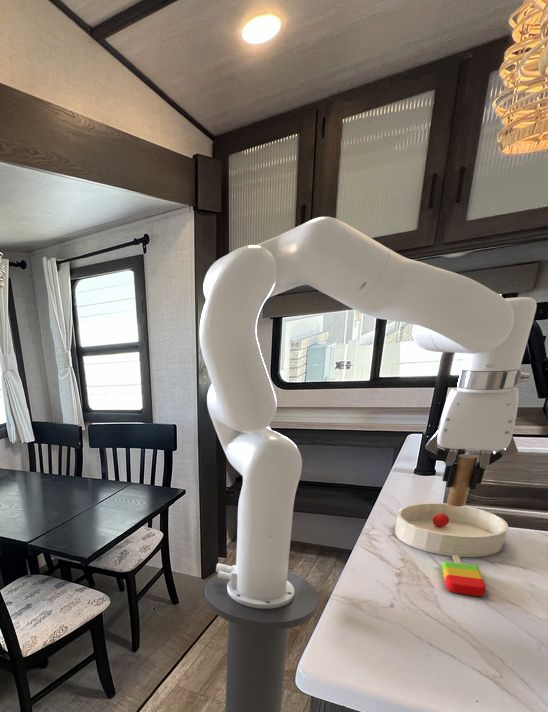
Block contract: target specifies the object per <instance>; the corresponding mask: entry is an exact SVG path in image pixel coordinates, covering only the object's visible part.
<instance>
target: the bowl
mask: <svg viewBox="0 0 548 712" xmlns="http://www.w3.org/2000/svg"><path fill="white" fill-rule="evenodd" d="M437 514H445V515H447V516H448V518H449V523H448V524H447V525H446V526H444V527H438V526H436V525H434V523H433V518H434V516H435V515H437ZM508 524H509V523H508V522H507V521H506V520H505V519H504V518H502V517H501V516H499V515H496V514H495V513H492V512H489V511H487V510H483V509H481V508H476V507H471V506H468V505H464V506H452V505H449V504H447V503H446V502H445V503H444V502H425V503H424V502H423V503H422V502H421V503H414V504H409V505H406V506H404V507H402V508H400V509H399V510H398V511H397V517H396V522H395V528H394V534H395V536H396V538H398V540H400V541H401V542H402V543H404V544H406V545H408V546H410V547H413V548H415V549H418V550H421V551H424V552H428V553H432V554H436V555H441V556H448V557H449V556H450V557H453V554H457V555H459V558H480V557H488V556H491V555H494V554H497V553H498V552H500V551H501V550H502V548H503V545H504V544H505V541H506V537H507V534H508V531H509V525H508Z"/></svg>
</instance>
